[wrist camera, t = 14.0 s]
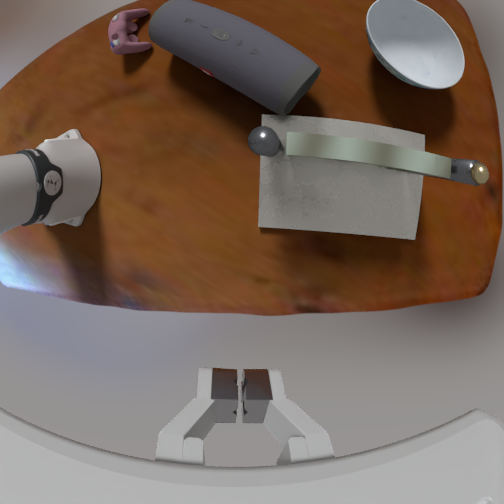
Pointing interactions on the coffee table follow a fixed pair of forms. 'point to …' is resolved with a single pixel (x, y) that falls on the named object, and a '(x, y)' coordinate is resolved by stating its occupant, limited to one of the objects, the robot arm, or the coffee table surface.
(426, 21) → the chinaware
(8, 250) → the coffee table surface
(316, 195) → the gate frame
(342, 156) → the gate
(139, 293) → the coffee table surface
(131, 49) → the video game controller
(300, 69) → the bluetooth speaker
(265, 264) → the coffee table surface
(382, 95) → the coffee table surface
